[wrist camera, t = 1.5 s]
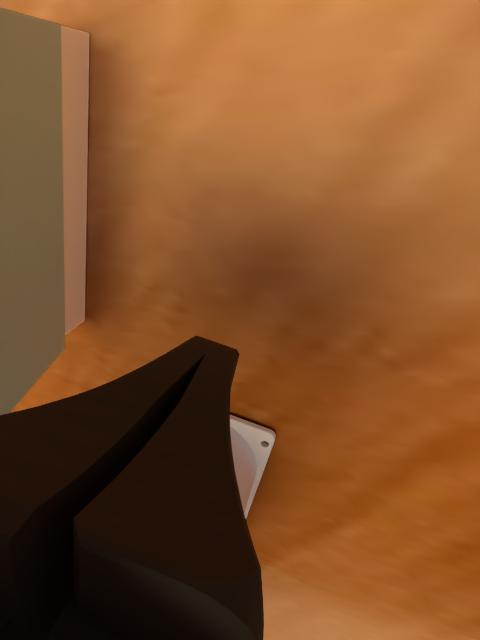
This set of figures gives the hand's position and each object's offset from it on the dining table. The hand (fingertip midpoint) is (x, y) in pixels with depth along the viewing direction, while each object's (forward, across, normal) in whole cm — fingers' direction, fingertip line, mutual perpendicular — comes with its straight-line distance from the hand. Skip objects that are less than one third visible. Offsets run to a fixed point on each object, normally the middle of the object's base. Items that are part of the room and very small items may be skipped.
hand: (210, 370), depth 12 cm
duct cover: (+3, +10, 0) cm, 10 cm away
